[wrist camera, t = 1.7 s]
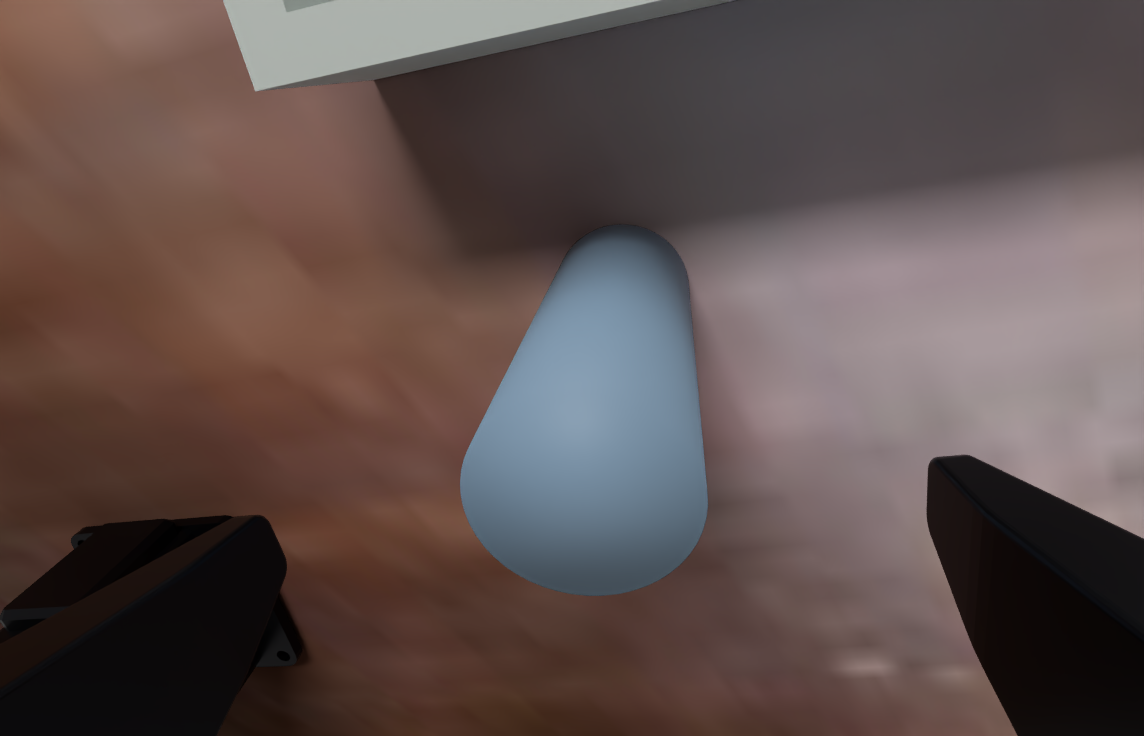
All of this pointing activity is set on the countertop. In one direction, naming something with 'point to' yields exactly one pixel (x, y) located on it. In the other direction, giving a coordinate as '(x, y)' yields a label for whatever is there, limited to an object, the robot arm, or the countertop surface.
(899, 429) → the countertop surface
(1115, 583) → the robot arm
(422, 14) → the box
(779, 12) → the countertop surface
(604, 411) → the peg
